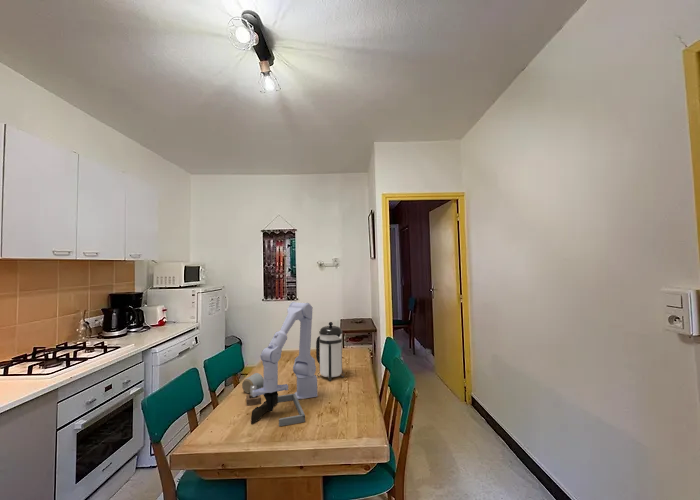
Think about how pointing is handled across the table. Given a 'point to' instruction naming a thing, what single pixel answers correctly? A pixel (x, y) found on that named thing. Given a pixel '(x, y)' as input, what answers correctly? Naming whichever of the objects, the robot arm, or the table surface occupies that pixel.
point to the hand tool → (260, 411)
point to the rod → (252, 390)
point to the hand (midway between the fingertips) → (270, 410)
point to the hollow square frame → (253, 400)
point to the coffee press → (330, 351)
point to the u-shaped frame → (292, 419)
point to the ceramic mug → (253, 382)
